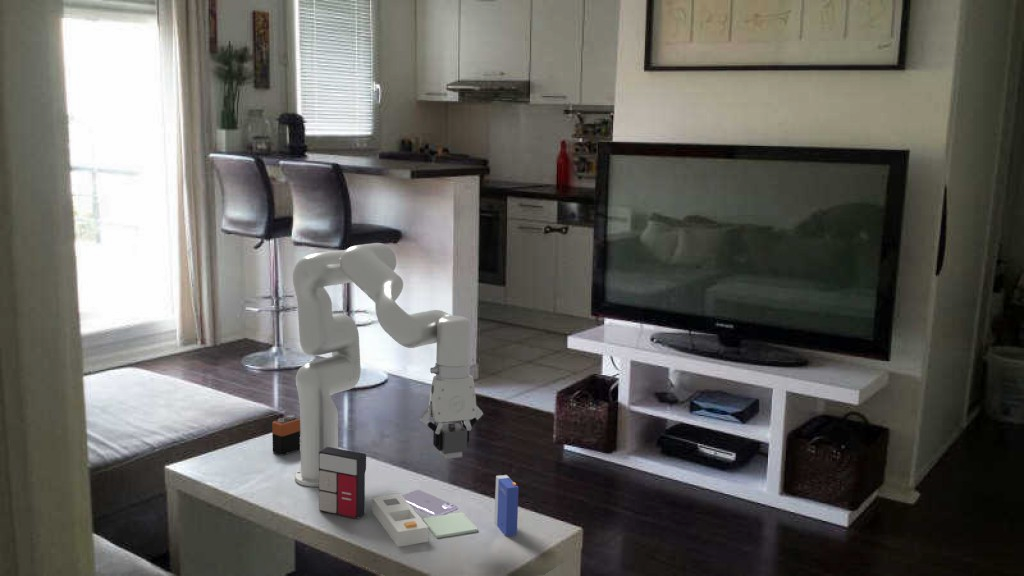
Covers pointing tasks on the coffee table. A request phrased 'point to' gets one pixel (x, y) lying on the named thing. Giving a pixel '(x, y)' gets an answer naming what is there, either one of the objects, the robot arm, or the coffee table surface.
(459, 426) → the grey knobbed block
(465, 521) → the mat
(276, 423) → the battery
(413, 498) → the mobile phone
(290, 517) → the coffee table surface
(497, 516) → the walkman
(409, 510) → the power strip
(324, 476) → the red grey panelled box
